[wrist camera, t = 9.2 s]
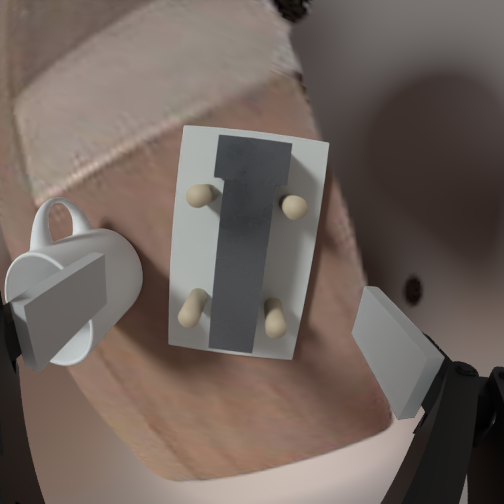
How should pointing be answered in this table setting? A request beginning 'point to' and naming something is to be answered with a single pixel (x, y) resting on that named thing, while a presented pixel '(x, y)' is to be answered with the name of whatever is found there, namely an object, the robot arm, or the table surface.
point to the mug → (67, 252)
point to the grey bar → (243, 235)
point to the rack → (278, 252)
